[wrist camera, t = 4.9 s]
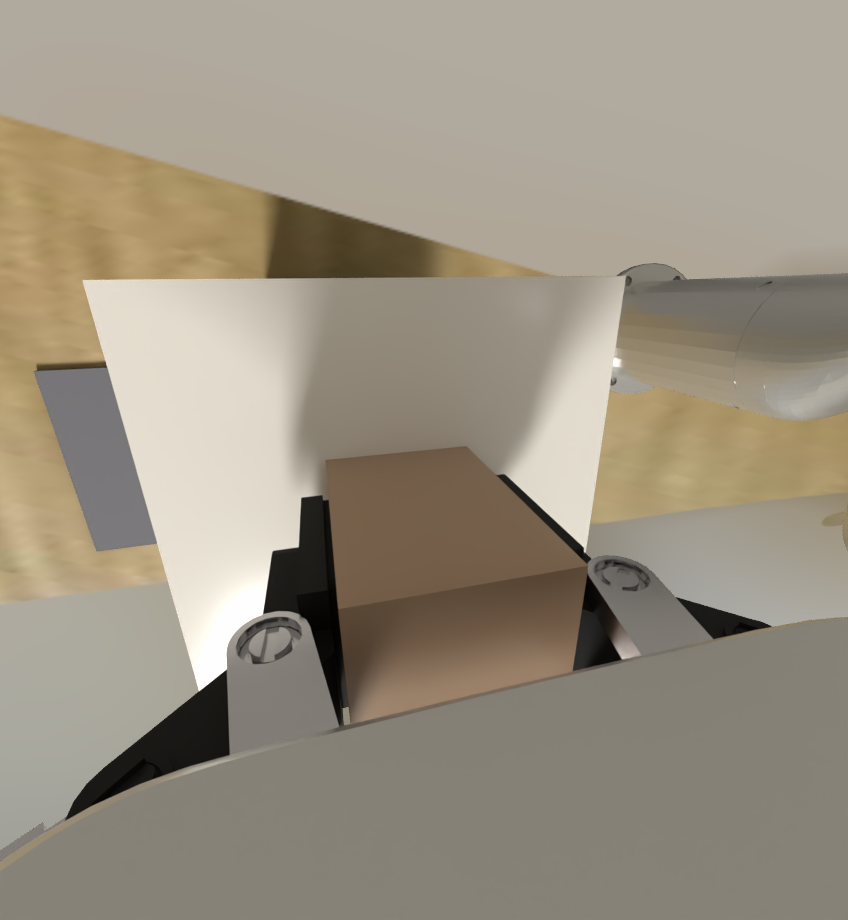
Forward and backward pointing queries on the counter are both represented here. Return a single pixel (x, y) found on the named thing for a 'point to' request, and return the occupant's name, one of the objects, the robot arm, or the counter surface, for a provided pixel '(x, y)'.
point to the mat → (97, 455)
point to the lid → (373, 460)
